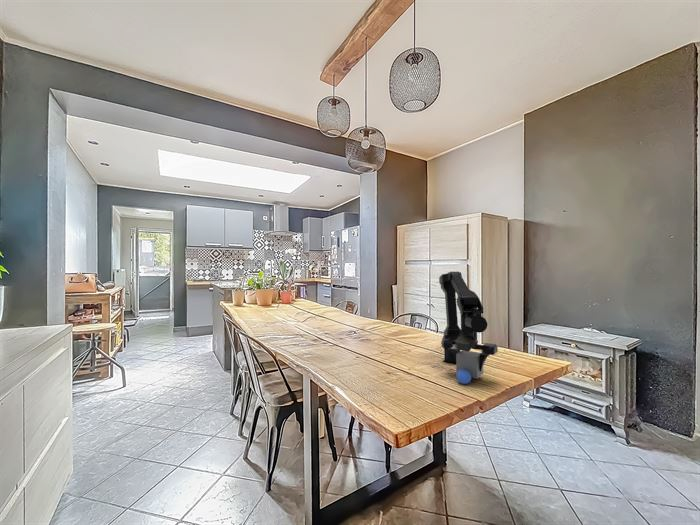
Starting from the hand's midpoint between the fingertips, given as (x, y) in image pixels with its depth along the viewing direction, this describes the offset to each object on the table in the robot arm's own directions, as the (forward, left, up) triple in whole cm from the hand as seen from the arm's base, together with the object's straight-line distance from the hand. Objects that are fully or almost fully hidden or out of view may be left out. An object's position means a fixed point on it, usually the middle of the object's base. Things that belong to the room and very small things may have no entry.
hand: (469, 368), depth 114 cm
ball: (0, -7, -1) cm, 7 cm away
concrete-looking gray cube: (0, 0, -2) cm, 2 cm away
